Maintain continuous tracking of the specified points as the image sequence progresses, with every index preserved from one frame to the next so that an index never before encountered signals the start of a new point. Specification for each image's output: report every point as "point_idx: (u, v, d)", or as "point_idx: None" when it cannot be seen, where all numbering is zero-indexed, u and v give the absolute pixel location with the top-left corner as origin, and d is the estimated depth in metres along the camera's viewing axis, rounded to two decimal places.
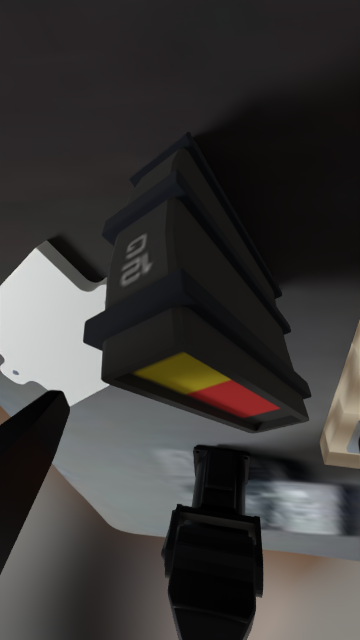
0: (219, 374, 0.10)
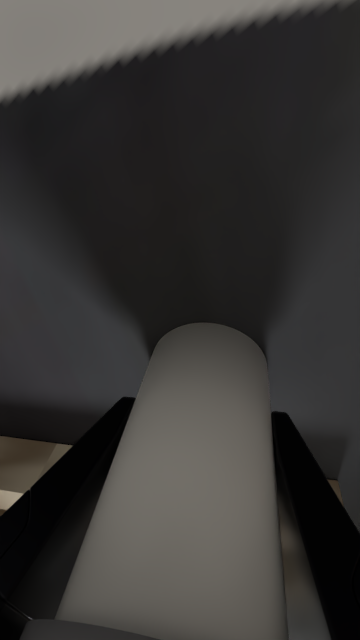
0: None
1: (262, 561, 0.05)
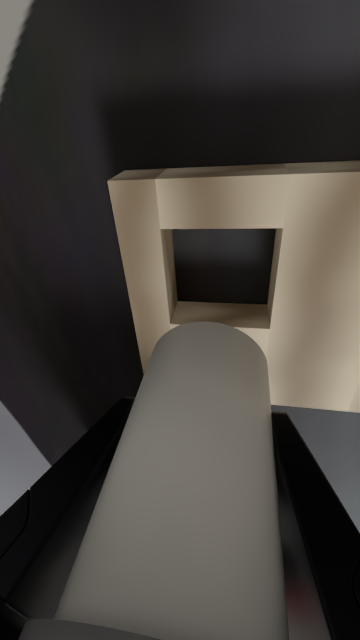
0: None
1: (262, 561, 0.05)
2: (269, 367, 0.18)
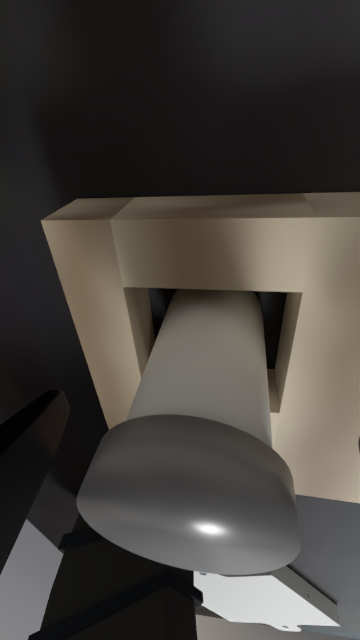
0: None
1: (255, 406, 0.08)
2: None
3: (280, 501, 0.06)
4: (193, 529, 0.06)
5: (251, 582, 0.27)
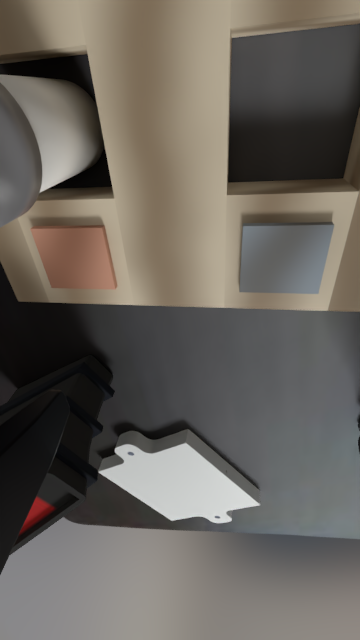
0: None
1: (20, 96, 0.10)
2: (129, 254, 0.17)
3: None
4: None
5: (172, 457, 0.30)
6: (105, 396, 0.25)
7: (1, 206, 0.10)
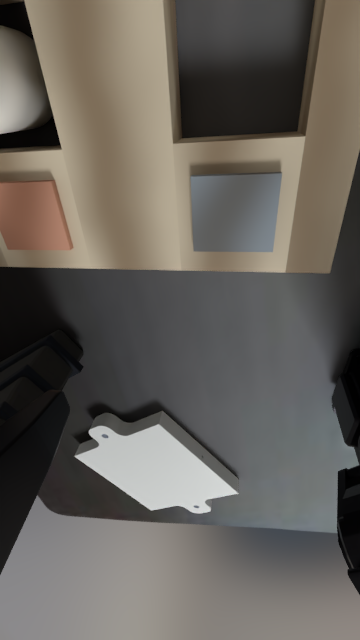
0: None
1: None
2: (81, 211, 0.16)
3: None
4: None
5: (146, 440, 0.30)
6: (73, 371, 0.24)
7: None
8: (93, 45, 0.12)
